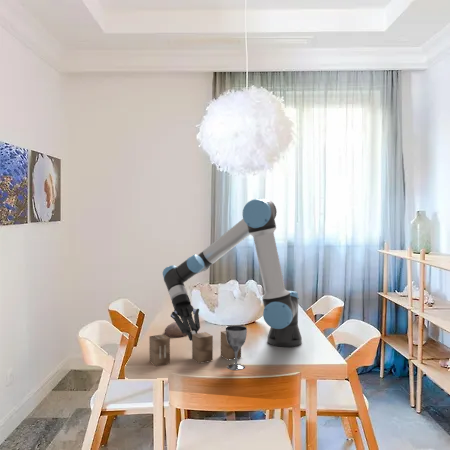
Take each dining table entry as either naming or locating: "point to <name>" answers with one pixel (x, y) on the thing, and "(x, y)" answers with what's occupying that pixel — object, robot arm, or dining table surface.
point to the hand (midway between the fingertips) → (197, 346)
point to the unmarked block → (202, 347)
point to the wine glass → (236, 342)
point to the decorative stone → (174, 331)
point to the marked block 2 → (227, 348)
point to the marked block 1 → (159, 349)
